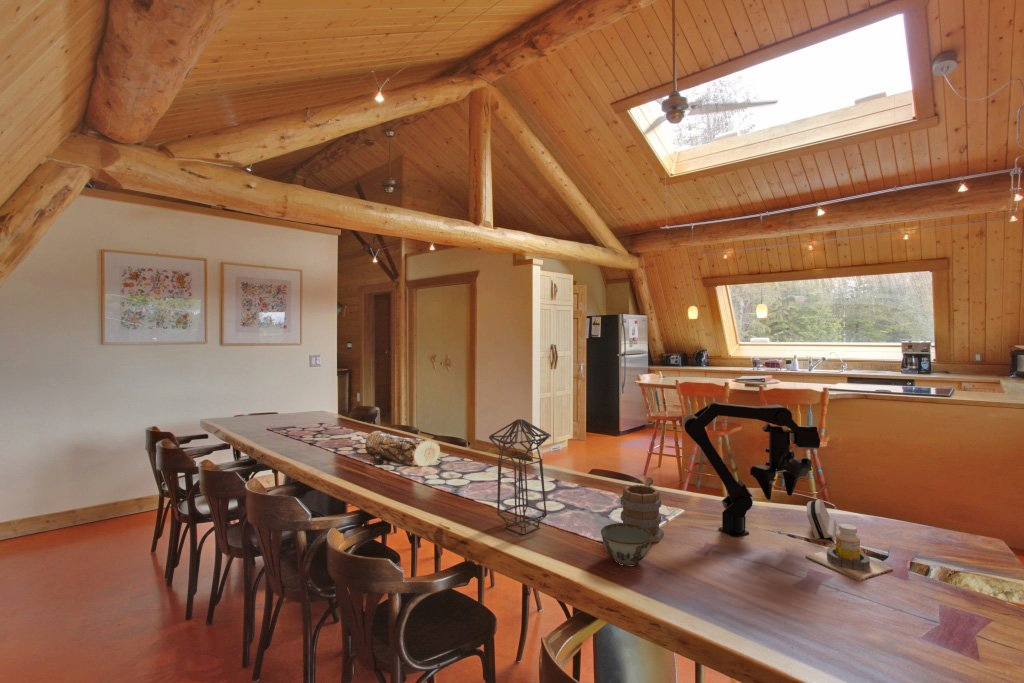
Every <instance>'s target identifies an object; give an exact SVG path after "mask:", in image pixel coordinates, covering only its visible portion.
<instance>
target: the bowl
mask: <svg viewBox="0 0 1024 683" xmlns="http://www.w3.org/2000/svg"><path fill="white" fill-rule="evenodd" d="M600 535H601V538H602V542H603V546H604V549H605V551H606V552H607V554H608V555H609V556H610V557H611V558H612V559H614V561H615V560H616V561H617V562H618V563H620V564H623V565H634V566H636V565H635V564H638V563H639V562H640V561H641V560H643V559H644V558H645V557H646V556H647V555H648V553H649V551H650V549H651V544H652V543H651V538H652V534H651V532H650V531H649V530H647V529H646V528H644V527H641V526H638V525H634V524H629V523H623V522H616V523H610V524H606V525H604V526H603V527H602V528H601V530H600ZM616 561H615V562H616ZM617 562H616V563H617ZM618 563H617V564H618ZM620 564H619V565H620ZM623 565H622V566H623Z"/></svg>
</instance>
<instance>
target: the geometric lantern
mask: <svg viewBox="0 0 1024 683" xmlns="http://www.w3.org/2000/svg"><path fill="white" fill-rule="evenodd" d="M507 428H508V430H506V432H504V434H503V435H498V433H500V432H502V431H504V430H505V429H507ZM519 428H520V430H519ZM519 432H520V439H521V441H519V442H518V437H519ZM539 433H540V434H539ZM513 434H514V435H513ZM523 435H524V436H525V438H526V440H523ZM529 435H530V436H529ZM530 437H531V438H530ZM536 437H538V439H537V438H536ZM550 437H552V434H550V433H548V432H546V431H544V430H543V429H541V428H539V427H537V426H535V425H534V424H532V423H531V422H528V421H526V420H525V419H523V418H522V419H519V418H517V419H516V420H514V421H512V422H511V423H509V424H508V425H506V426H504V427H502V428H500V429H498V430H497V431H495V432H494V433H492V434H490V435H489V436H488V439H489V440H490V442H492V443H493V444H494V445H495V446H496V448H497V449H498V450H499V455H498V460H497V508H496V509H497V512H496V513H497V514H496V516H498V517H499V518H501V519H502V520H503V521H504V523H506V525H505V527H507V528H508V530H509V529H511V530H510V531H512V530H513V531H512V532H514V531H516V532H515V533H517V532H519V531H518V530H515V529H512V528H510V527H511V526H514V527H516V528H517V527H518V528H519V529H520V532H519V533H522V534H523V533H527V534H529V533H528V532H530V533H532V532H534V531H536V529H537V530H539V529H541V526H540V522H541V521H542V520H543V519H545V518H546V517H547V515H548V513H547V505H546V492H545V480H544V478H545V477H544V465H543V460H544V459H543V458H542V457H541V454H540V449H539V448H540V446H542V445H543V443H545V442H546V441H547V440H548V439H549V438H550ZM499 438H500V439H499ZM532 438H533V439H532ZM508 439H509V441H508ZM495 441H497V442H498V443H496V442H495ZM524 443H528V445H529V446H528V447H527V445H525V444H524ZM501 444H502V448H501ZM516 444H520V445H521V446H523V448H525V450H527V451H526V453H525V454H523V455H522V454H520V452H518V450H517V449H516V448H515V446H514V445H516ZM533 444H534V445H536V447H534V448H532V446H533ZM506 445H508V447H506ZM510 448H513V449H514V450H515V452H516V453H517V455H511V453H510V452H509V449H510ZM535 450H537V453H538V457H536V456H535V457H534V456H531V455H528V454H529V452H532V451H535ZM504 452H507V454H508V456H509V457H505V458H503V456H504ZM517 457H518V464H517V463H516V462H515V460H514V459H513V458H517ZM526 457H527V458H530V459H534V460H535V459H536V460H537V461H534V462H530V463H527V459H526ZM521 458H523V459H522V460H521ZM508 459H509V460H511V461H512V463H509V462H506V461H505V460H508ZM538 460H539V461H538ZM504 461H505V462H504ZM523 462H524V464H523ZM502 464H505V465H510V466H512V467H513V468H514V506H512V507H508V508H506V509H502V510H500V507H501V505H500V502H501V486H502V485H501V480H502ZM534 464H538V465H539V472H540V483H541V489H542V490H541V491H542V498H543V499H542V500H543V508H544V509H541V508H537V507H534V506H532V505H529V501H528V500H529V497H528V480H527V479H528V478H527V466H530V465H534ZM522 467H524V482H525V483H524V482H523V472H522V471H523V468H522ZM517 468H518V501H517ZM524 484H525V496H524ZM521 500H522V504H521ZM525 500H526V501H525ZM517 502H518V503H517ZM525 502H526V504H525ZM517 504H518V505H517ZM521 507H522V511H521ZM517 508H518V510H519V515H518V512H517ZM528 508H530V509H534V510H536V511H539V512H541V513H543V514H541V515H539V516H537V517H531V516H527V515H526V512H527V510H528ZM513 509H514V517H512V518H508V517H506V516H503V515H502V514H501V513H505V512H507V511H510V510H513ZM522 514H523V515H522ZM518 518H519V521H518ZM526 518H529V519H526ZM532 521H534V522H532ZM529 523H530V524H529ZM521 524H524V525H523V526H522V525H521ZM526 524H527V525H526ZM532 525H533V526H535V527H537V526H538V527H537V528H534V529H532V530H529V531H526V528H528V527H530V526H532ZM508 526H509V527H508ZM507 528H506V529H507ZM523 529H524V532H523ZM531 531H532V532H531ZM519 533H518V534H519ZM522 534H521V535H522ZM523 535H524V534H523Z"/></svg>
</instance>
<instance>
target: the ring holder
mask: <svg viewBox="0 0 1024 683" xmlns="http://www.w3.org/2000/svg"><path fill="white" fill-rule="evenodd" d="M806 557H807V558H806ZM805 558H806V559H808V558H809V559H808V560H810V559H811V560H810V561H812V560H814V561H816V562H815V563H817V562H818V563H817V564H819V563H820V564H819V565H821V564H822V566H823V567H825V568H828V567H829V568H828V569H830V568H831V570H833V571H835V572H837V571H838V572H837V573H839V572H840V573H839V574H842V575H844V576H846V575H847V576H846V577H848V578H851V579H853V578H854V580H855V579H856V580H855V581H858V582H860V581H863V580H866V578H867V579H869V577H870V578H872V576H873V577H875V576H879V575H882V574H881V573H883V574H885V572H886V573H888V572H892V571H893V570H894V569H893V568H892V567H891V566H888V565H885V564H882V563H880V562H877V561H875V560H872V559H870V558H871V557H869V556H868V555H867V554H866V553H864V552H861V551H860V561H855V560H848V559H844V558H841V557H839V556H836V546H831V547H828V548H827V549H825V550H823V551H819V552H815V553H811V554H808V555H805ZM814 561H813V562H814ZM891 570H892V571H891ZM878 574H879V575H878ZM862 579H863V580H862Z"/></svg>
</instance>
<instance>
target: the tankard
mask: <svg viewBox="0 0 1024 683" xmlns="http://www.w3.org/2000/svg"><path fill="white" fill-rule="evenodd" d="M653 484H654V479H653V478H652V477H650V476H648V477H647V478H646V480H645V483H644V485H643V484H633V485H627V486H625V487H624V488H623V489H622V495H621V497H620V504H621V506H622V511H621V512H620V520H621V521H622V523H629V524H634V525H638V526H641V527H644V528H646V529H647V530H649V531H650V532H651V534H652V538H651V542H654V543H659V542H660V541H661V539H662V538H664V536H665V532H664V530H663V529H661V527H660V524H661V523H662V515H661V514H660V509H661V507H662V499H661V498H660V491H659V490H658V489H656V488H655V487H653V486H651V485H653Z"/></svg>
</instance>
